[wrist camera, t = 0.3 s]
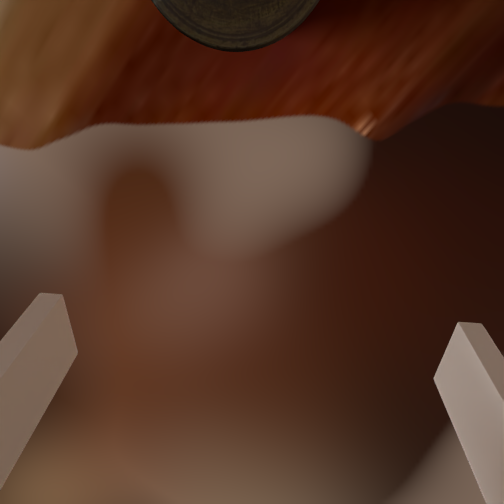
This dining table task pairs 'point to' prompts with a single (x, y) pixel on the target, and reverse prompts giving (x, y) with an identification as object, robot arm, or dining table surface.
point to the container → (235, 21)
